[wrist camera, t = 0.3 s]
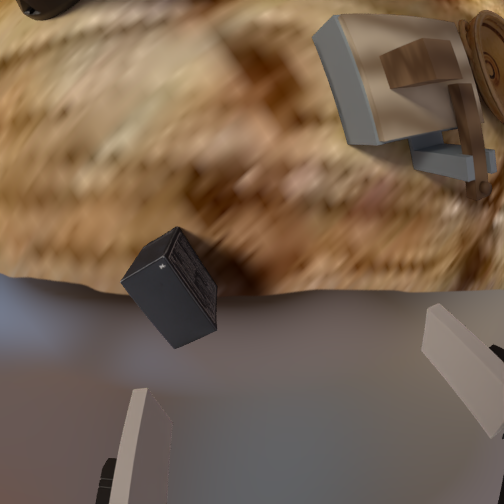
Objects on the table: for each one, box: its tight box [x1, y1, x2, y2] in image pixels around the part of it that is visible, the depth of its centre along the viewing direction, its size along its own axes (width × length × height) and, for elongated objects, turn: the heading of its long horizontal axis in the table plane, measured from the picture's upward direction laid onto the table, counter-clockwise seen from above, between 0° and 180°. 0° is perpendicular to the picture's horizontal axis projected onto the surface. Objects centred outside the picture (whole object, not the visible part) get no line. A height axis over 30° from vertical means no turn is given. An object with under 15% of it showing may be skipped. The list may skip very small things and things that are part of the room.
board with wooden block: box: [338, 14, 484, 142], centre depth 20 cm, size 15×19×9 cm
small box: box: [121, 227, 217, 349], centre depth 34 cm, size 11×6×10 cm, turn 28°
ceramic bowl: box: [458, 10, 504, 124], centre depth 28 cm, size 30×24×8 cm
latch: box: [448, 83, 492, 201], centre depth 25 cm, size 15×3×3 cm, turn 18°
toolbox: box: [312, 15, 497, 182], centre depth 28 cm, size 22×20×12 cm
